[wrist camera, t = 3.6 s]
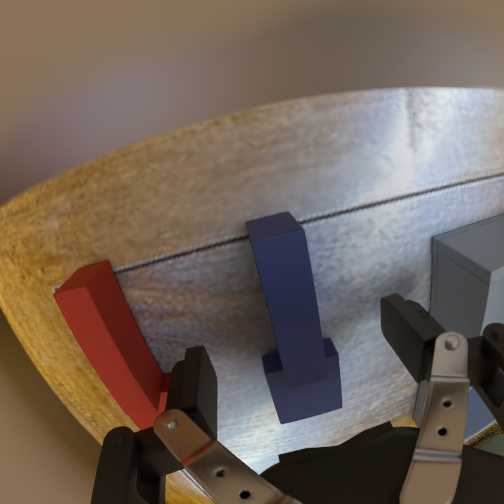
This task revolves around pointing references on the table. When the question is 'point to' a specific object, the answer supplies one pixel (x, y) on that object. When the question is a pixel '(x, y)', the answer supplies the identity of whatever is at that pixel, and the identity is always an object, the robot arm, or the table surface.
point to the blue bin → (468, 297)
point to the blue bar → (294, 322)
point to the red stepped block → (113, 342)
